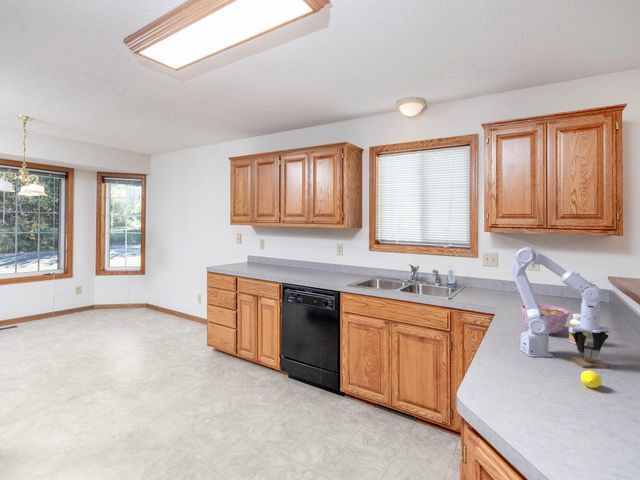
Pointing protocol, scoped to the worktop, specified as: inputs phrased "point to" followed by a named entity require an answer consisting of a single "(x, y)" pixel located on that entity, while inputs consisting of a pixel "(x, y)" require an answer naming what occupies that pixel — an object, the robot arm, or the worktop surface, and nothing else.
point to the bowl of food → (550, 317)
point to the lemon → (591, 379)
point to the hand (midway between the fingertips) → (588, 351)
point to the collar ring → (590, 352)
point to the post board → (588, 362)
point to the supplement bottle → (576, 322)
